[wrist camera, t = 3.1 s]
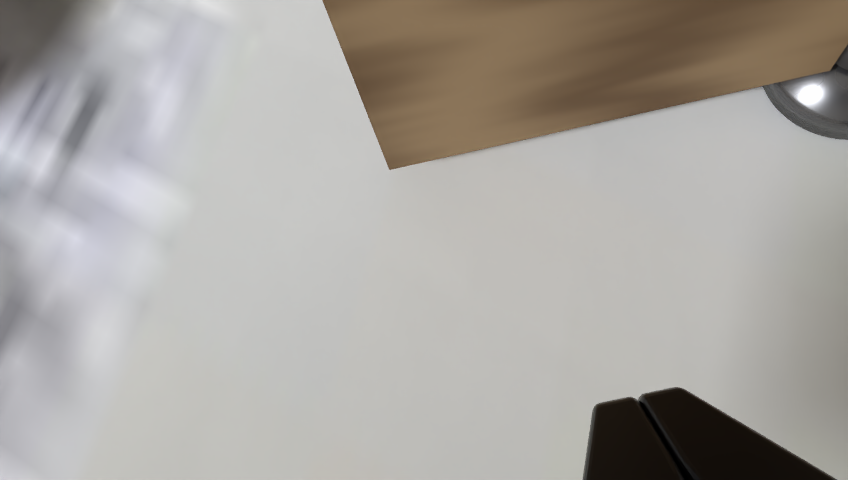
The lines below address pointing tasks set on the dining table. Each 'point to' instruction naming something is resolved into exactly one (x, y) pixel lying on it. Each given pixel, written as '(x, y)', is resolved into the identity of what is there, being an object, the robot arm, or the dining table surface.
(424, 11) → the gate panel
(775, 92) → the gate pivot base
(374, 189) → the dining table surface
